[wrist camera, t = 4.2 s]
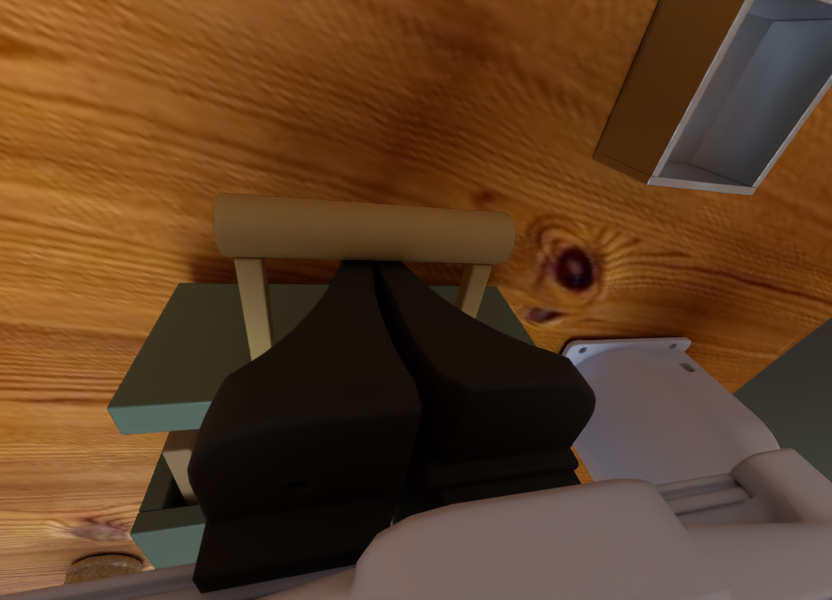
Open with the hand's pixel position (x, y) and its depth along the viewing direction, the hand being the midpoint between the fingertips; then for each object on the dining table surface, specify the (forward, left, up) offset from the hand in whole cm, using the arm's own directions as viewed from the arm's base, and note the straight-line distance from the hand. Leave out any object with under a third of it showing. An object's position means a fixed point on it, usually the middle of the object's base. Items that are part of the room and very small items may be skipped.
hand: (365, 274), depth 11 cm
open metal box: (-12, -6, -4) cm, 14 cm away
